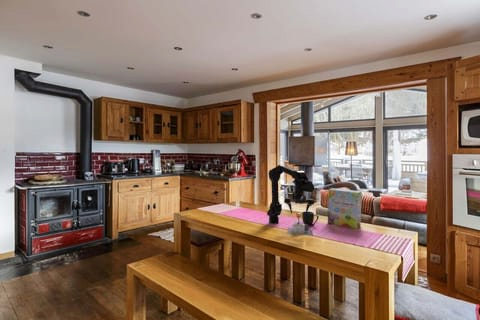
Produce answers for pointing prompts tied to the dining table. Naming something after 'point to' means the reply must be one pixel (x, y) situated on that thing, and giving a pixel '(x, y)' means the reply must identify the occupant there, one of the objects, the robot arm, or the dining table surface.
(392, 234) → the dining table surface
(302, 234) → the slate board
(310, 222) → the mug
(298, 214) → the plunger
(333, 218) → the snack box
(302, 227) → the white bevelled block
